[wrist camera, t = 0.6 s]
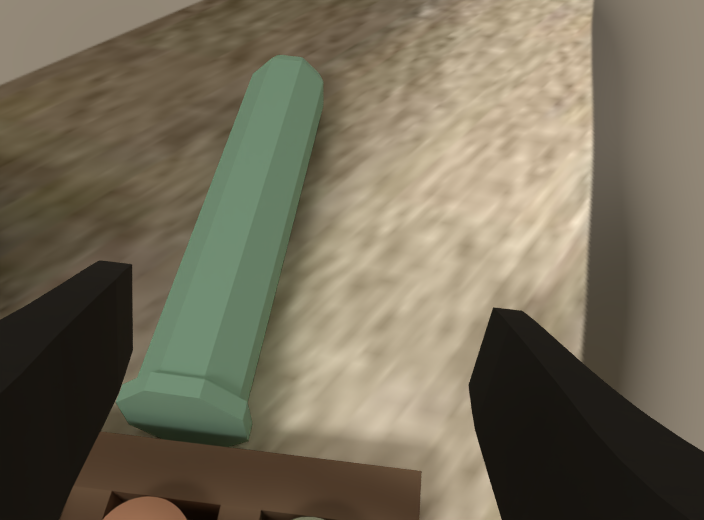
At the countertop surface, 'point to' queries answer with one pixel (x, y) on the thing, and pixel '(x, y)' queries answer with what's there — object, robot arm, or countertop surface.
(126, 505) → the terracotta button
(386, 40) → the countertop surface
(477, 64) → the countertop surface
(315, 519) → the sage button
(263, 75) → the container
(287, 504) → the button panel
